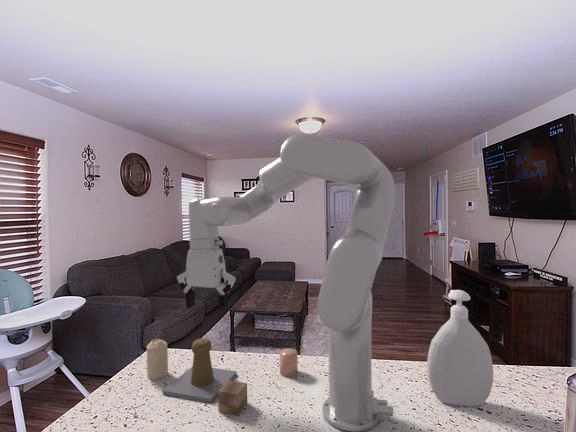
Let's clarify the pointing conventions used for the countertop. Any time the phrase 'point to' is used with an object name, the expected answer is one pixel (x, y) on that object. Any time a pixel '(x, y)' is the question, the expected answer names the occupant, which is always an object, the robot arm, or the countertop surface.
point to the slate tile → (199, 393)
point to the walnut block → (232, 397)
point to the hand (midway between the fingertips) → (206, 307)
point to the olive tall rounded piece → (201, 363)
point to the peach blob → (288, 362)
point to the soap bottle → (460, 359)
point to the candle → (157, 359)
